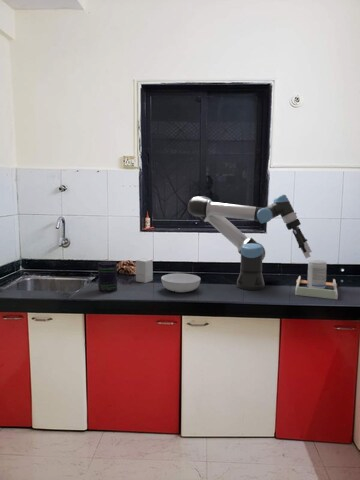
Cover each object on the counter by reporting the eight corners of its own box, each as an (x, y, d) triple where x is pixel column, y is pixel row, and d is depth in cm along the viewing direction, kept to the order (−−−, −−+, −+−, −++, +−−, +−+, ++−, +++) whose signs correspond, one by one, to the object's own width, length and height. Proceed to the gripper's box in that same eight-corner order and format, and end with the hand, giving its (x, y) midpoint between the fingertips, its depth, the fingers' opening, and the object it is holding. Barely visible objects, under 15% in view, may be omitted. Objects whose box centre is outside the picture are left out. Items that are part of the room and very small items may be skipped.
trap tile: (296, 282, 206) (296, 282, 206) (296, 280, 212) (296, 279, 212) (337, 286, 198) (337, 286, 198) (336, 283, 204) (336, 283, 204)
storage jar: (110, 287, 193) (110, 260, 191) (121, 290, 186) (120, 262, 184) (94, 290, 186) (94, 262, 184) (104, 294, 179) (104, 265, 177)
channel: (294, 294, 181) (295, 287, 180) (298, 280, 212) (298, 273, 212) (337, 299, 173) (337, 291, 173) (334, 283, 205) (335, 276, 204)
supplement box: (153, 280, 208) (153, 259, 206) (145, 283, 202) (145, 261, 200) (143, 278, 212) (143, 258, 210) (135, 281, 206) (135, 260, 204)
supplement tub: (329, 288, 194) (330, 262, 192) (318, 290, 189) (320, 263, 187) (313, 284, 202) (315, 259, 200) (303, 286, 197) (304, 260, 195)
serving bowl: (174, 298, 173) (175, 284, 172) (154, 288, 191) (154, 276, 190) (208, 292, 185) (208, 279, 184) (185, 283, 202) (186, 271, 201)
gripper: (296, 220, 185) (314, 256, 184) (299, 216, 207) (316, 248, 207) (282, 226, 188) (301, 262, 187) (287, 221, 210) (303, 253, 210)
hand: (308, 255), depth 197 cm, fingers open, 13 cm apart
